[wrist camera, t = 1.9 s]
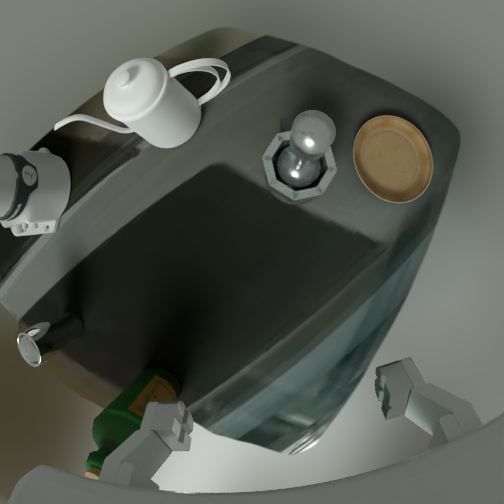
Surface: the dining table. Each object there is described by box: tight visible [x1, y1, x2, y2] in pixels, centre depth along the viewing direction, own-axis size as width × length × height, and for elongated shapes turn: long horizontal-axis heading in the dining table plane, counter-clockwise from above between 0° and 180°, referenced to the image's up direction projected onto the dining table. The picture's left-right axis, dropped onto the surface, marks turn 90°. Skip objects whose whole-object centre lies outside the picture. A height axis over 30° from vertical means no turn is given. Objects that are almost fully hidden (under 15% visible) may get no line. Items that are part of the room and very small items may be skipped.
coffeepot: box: [54, 58, 231, 148], centre depth 37 cm, size 11×25×19 cm, turn 107°
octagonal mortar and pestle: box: [262, 117, 337, 205], centre depth 40 cm, size 9×11×12 cm
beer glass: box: [17, 311, 84, 367], centre depth 46 cm, size 7×7×15 cm
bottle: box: [85, 367, 181, 480], centre depth 39 cm, size 11×11×28 cm
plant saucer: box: [353, 115, 433, 203], centre depth 43 cm, size 15×15×3 cm
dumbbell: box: [277, 110, 336, 187], centre depth 28 cm, size 5×5×17 cm
